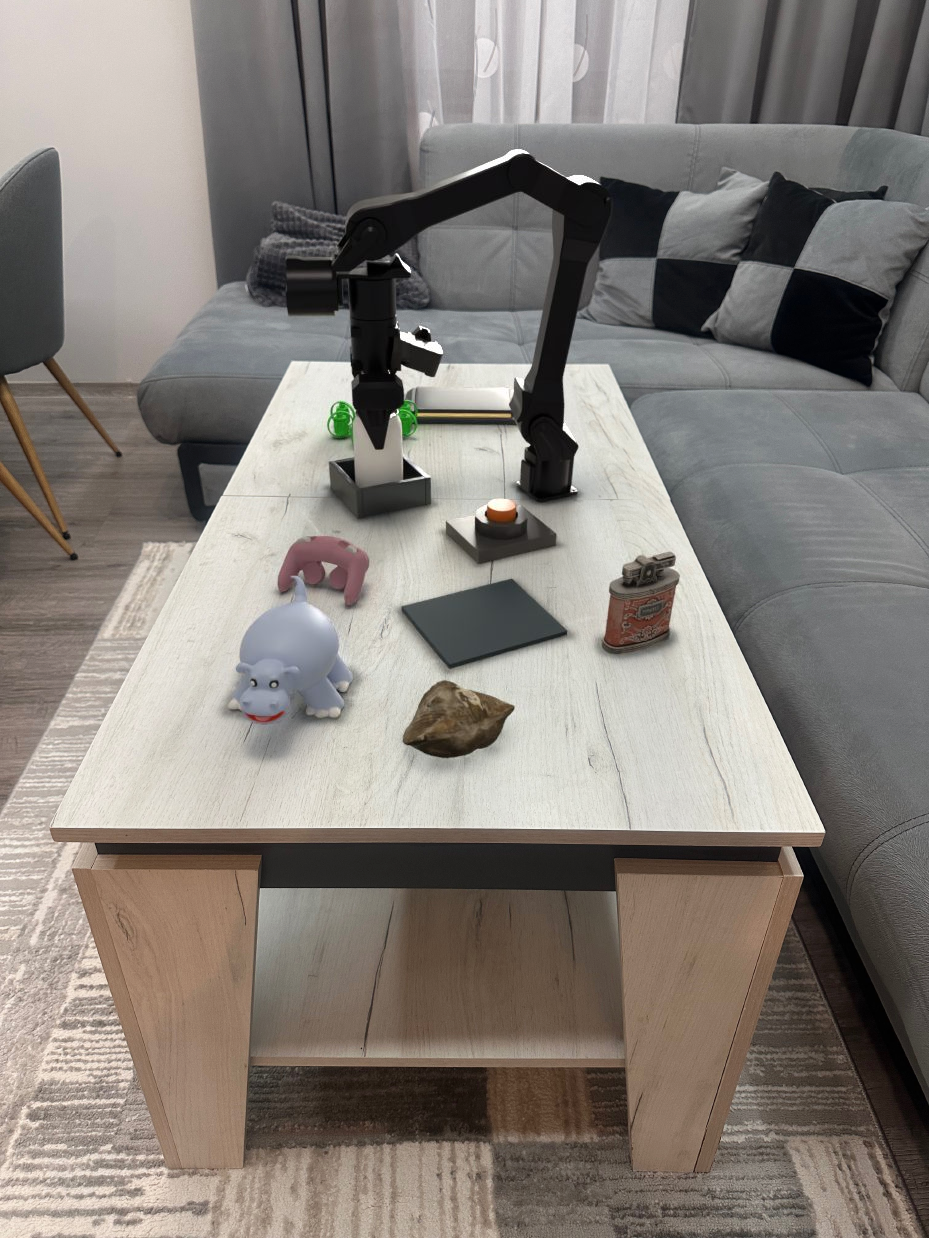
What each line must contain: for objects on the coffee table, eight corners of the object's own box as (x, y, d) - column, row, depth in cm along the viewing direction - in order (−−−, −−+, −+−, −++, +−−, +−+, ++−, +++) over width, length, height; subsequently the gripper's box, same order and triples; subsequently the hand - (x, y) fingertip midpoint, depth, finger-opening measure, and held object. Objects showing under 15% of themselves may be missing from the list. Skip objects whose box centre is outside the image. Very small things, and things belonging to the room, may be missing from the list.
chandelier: (309, 442, 137) (304, 400, 133) (353, 408, 148) (349, 368, 145) (397, 456, 133) (395, 412, 129) (435, 420, 144) (434, 379, 140)
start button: (506, 508, 112) (507, 496, 111) (520, 520, 109) (521, 507, 108) (481, 514, 110) (482, 501, 109) (495, 526, 108) (496, 513, 107)
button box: (520, 516, 117) (521, 492, 115) (556, 545, 110) (558, 520, 108) (445, 532, 113) (445, 507, 111) (478, 564, 106) (479, 538, 104)
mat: (511, 582, 102) (511, 578, 102) (567, 635, 94) (567, 630, 93) (401, 610, 97) (401, 606, 97) (449, 669, 88) (449, 664, 88)
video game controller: (368, 604, 101) (377, 544, 100) (351, 607, 96) (361, 544, 95) (291, 588, 103) (299, 529, 102) (271, 590, 99) (280, 529, 98)
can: (396, 508, 118) (394, 423, 111) (350, 503, 119) (345, 418, 112) (408, 488, 123) (407, 405, 117) (364, 484, 124) (360, 401, 118)
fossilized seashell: (413, 765, 73) (525, 759, 76) (414, 684, 73) (526, 683, 76) (391, 750, 80) (495, 746, 83) (392, 677, 80) (496, 676, 83)
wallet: (520, 384, 156) (523, 415, 143) (519, 395, 157) (523, 426, 144) (407, 382, 156) (400, 412, 143) (407, 392, 157) (401, 423, 144)
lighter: (614, 659, 90) (625, 574, 85) (595, 641, 93) (605, 559, 87) (676, 639, 93) (691, 557, 88) (656, 623, 96) (669, 542, 90)
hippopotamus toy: (205, 749, 78) (189, 662, 72) (256, 651, 90) (245, 571, 85) (325, 759, 77) (317, 672, 71) (360, 659, 89) (355, 578, 84)
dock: (399, 475, 127) (399, 449, 125) (431, 504, 119) (431, 477, 117) (330, 488, 123) (328, 461, 121) (357, 519, 115) (356, 491, 113)
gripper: (446, 335, 101) (445, 462, 110) (431, 295, 116) (432, 409, 125) (348, 336, 100) (355, 465, 108) (347, 296, 115) (353, 411, 124)
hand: (377, 435), depth 116 cm, fingers open, 9 cm apart
